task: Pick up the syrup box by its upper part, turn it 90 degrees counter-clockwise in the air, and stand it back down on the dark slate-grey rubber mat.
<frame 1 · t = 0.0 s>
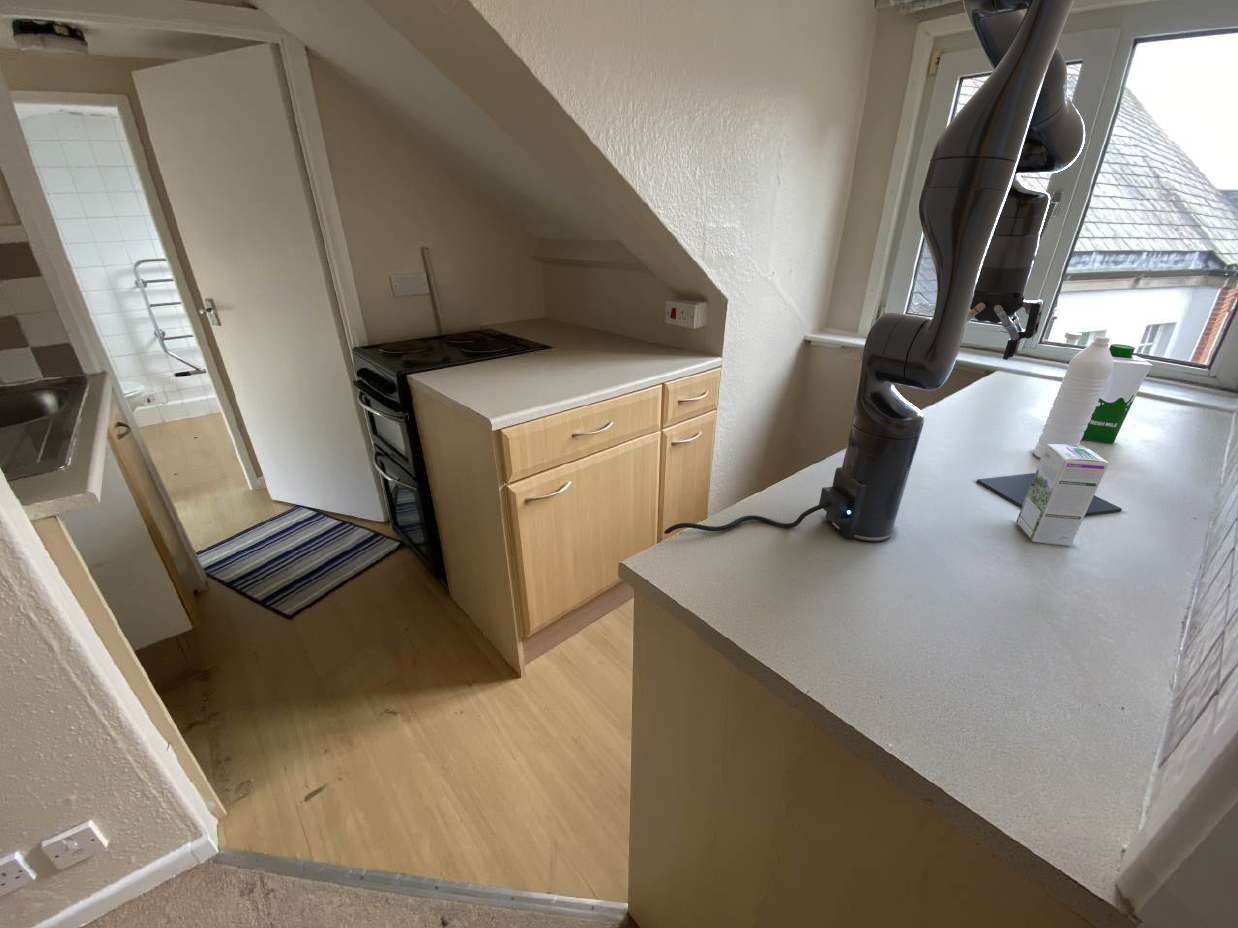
hand: (980, 353, 97), 22 cm above the counter, tool pointing down, fingers open, 8 cm apart
mat: (1045, 496, 95), on the counter
milk carton: (1088, 436, 121), on the counter
syrup box: (1041, 535, 84), on the counter
water bottle: (1045, 456, 110), on the counter
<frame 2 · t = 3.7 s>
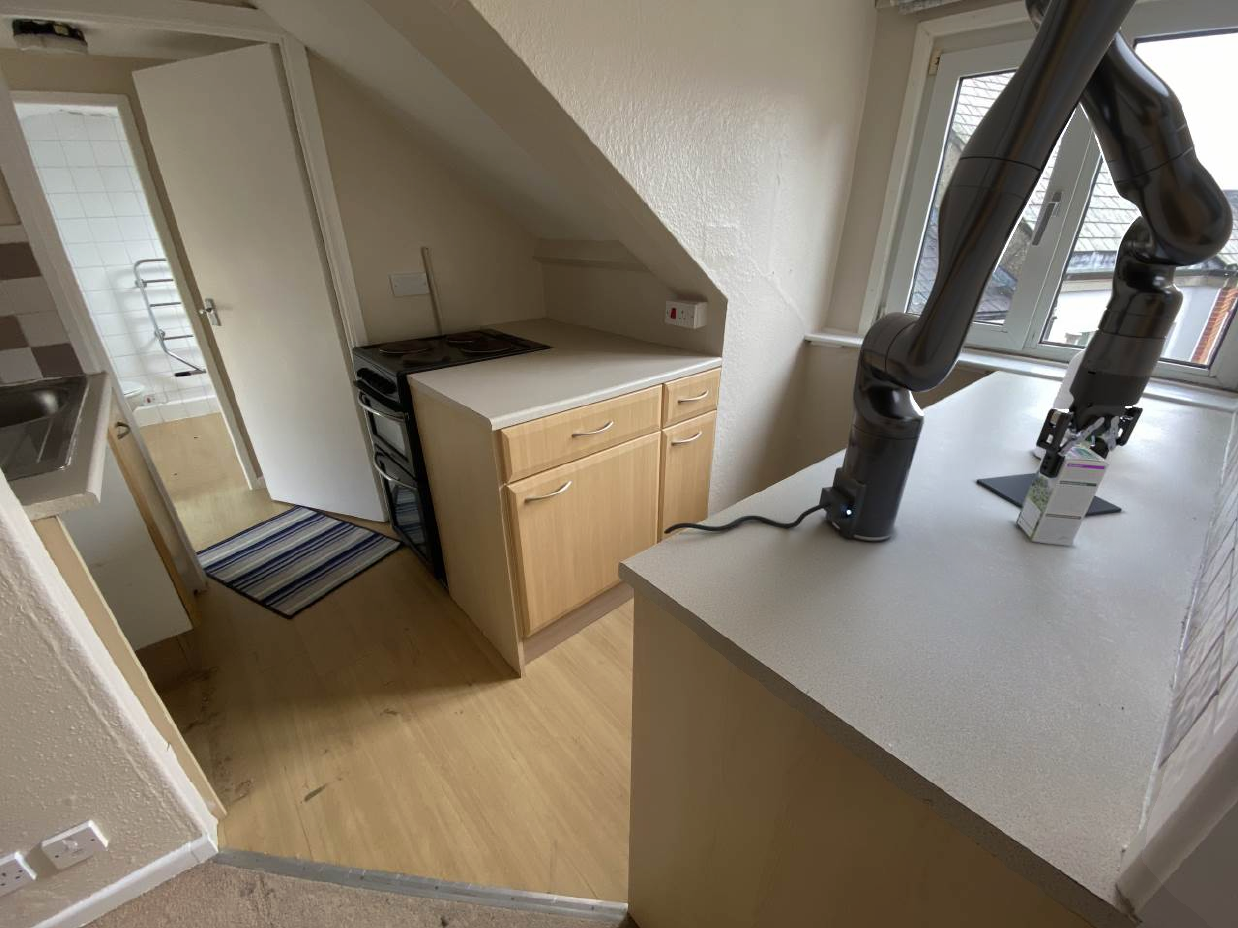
hand: (1068, 473, 79), 11 cm above the counter, tool pointing down, fingers closed on syrup box, 7 cm apart
syrup box: (1041, 535, 84), on the counter, touching gripper
everything else where it was.
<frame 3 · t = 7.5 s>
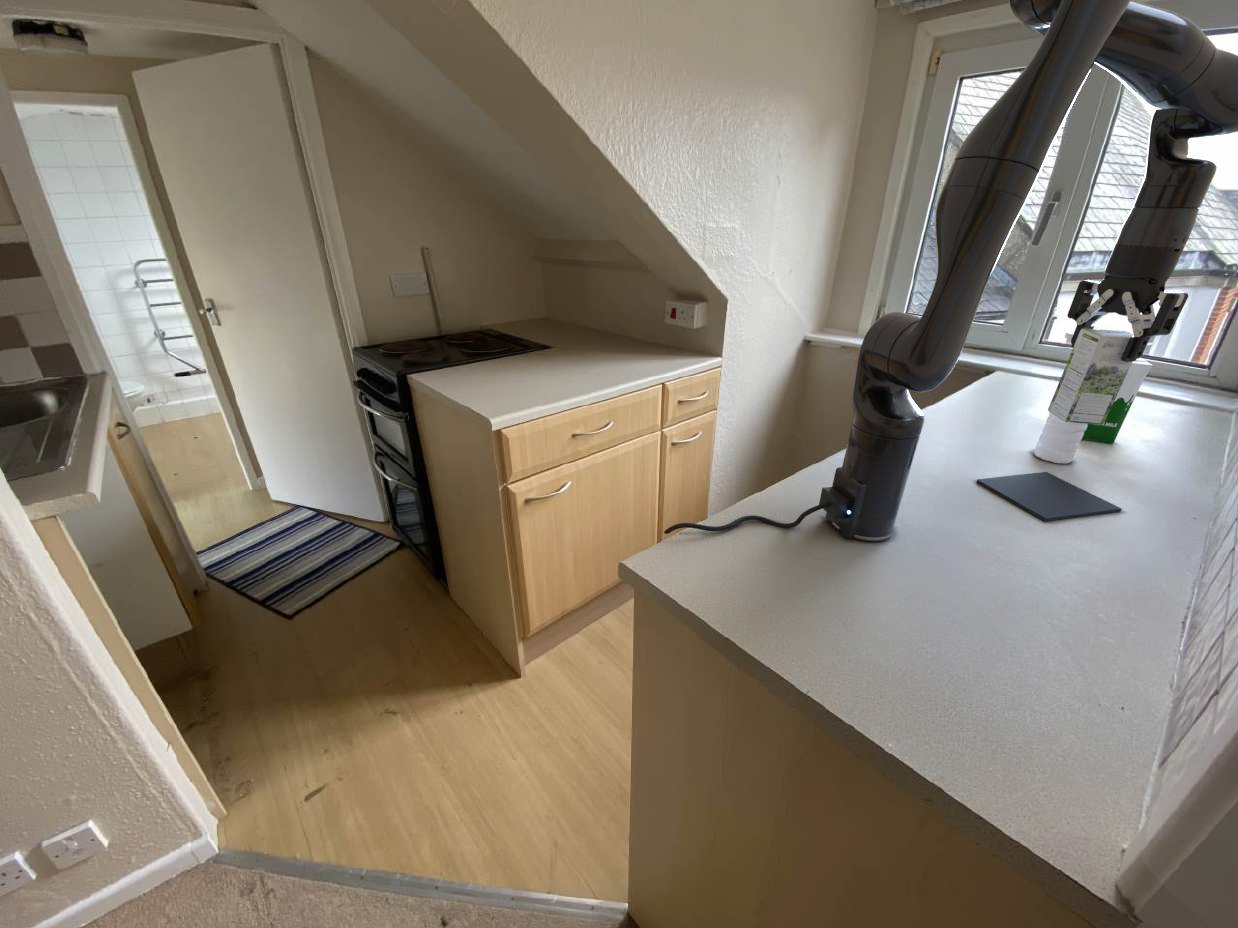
hand: (1102, 354, 84), 26 cm above the counter, tool pointing down, fingers closed on syrup box, 7 cm apart
syrup box: (1074, 419, 89), point 15 cm above the counter, touching gripper
everything else where it was.
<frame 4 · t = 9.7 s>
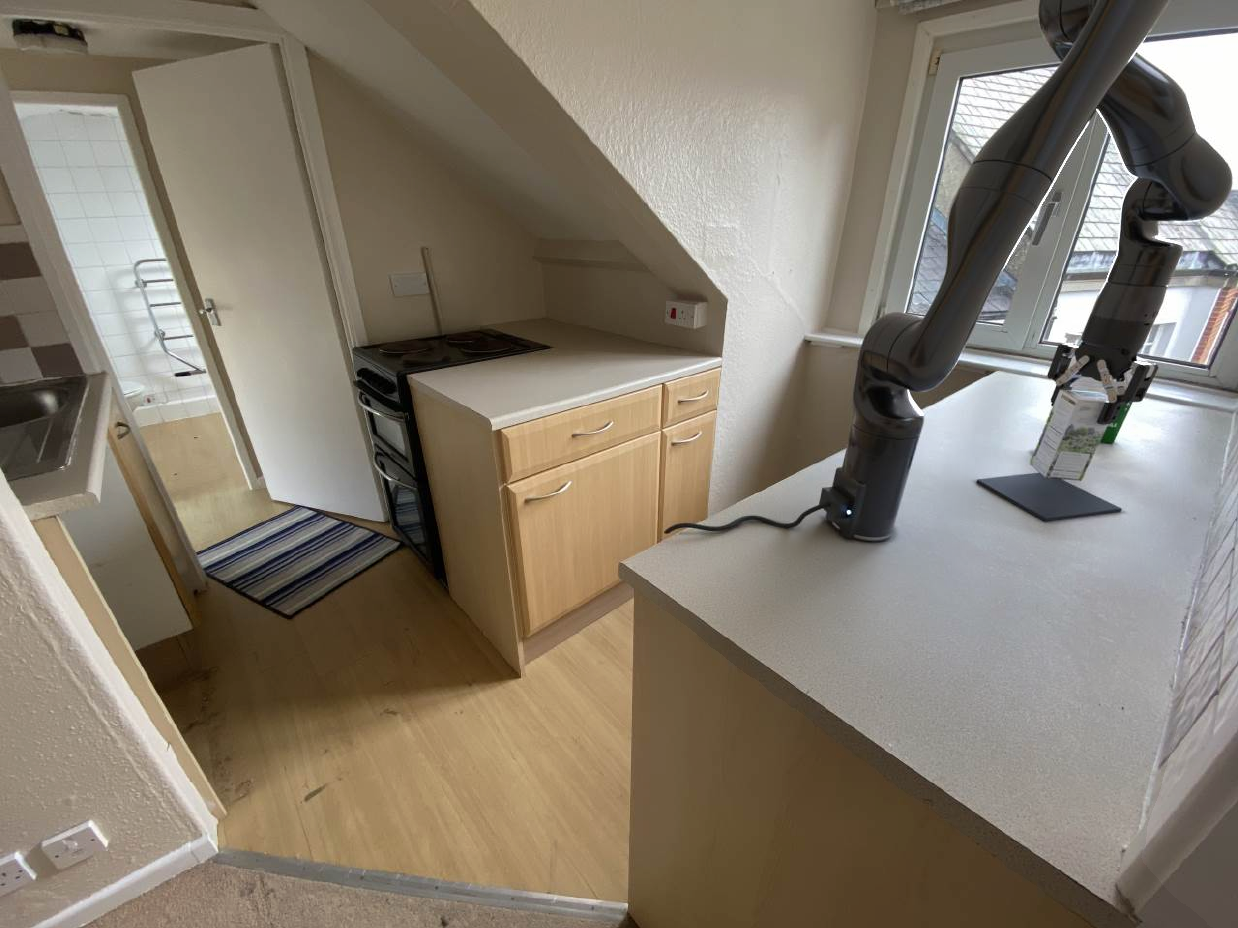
hand: (1079, 414, 88), 16 cm above the counter, tool pointing down, fingers closed on syrup box, 7 cm apart
syrup box: (1054, 474, 93), point 4 cm above the counter, touching gripper
everything else where it was.
when the fingers open (12 cm above the counter, at t = 11.5 s): syrup box stays where it is, resting on mat.
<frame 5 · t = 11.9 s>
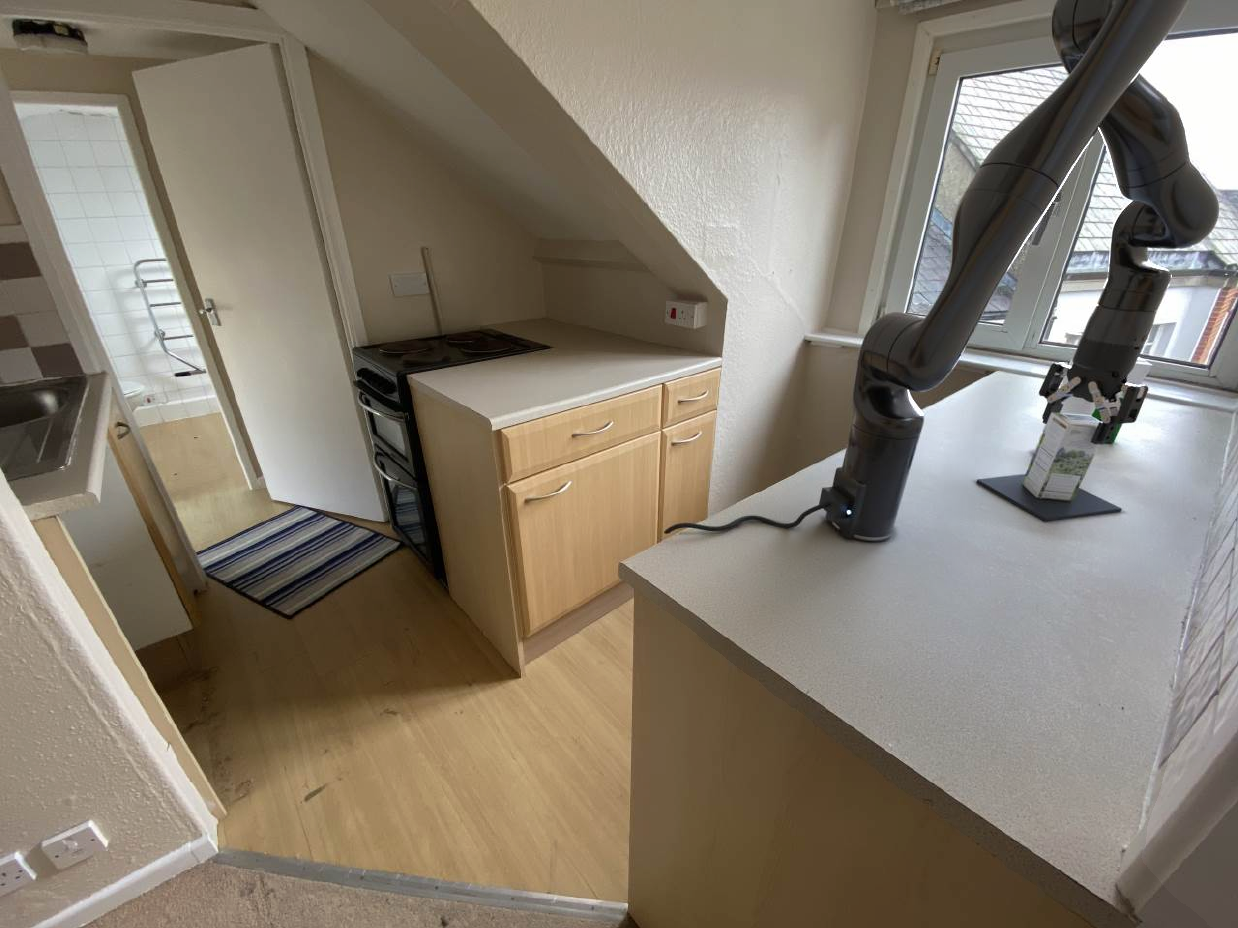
hand: (1072, 433, 89), 12 cm above the counter, tool pointing down, fingers open, 8 cm apart
syrup box: (1045, 494, 95), resting on mat
everything else where it was.
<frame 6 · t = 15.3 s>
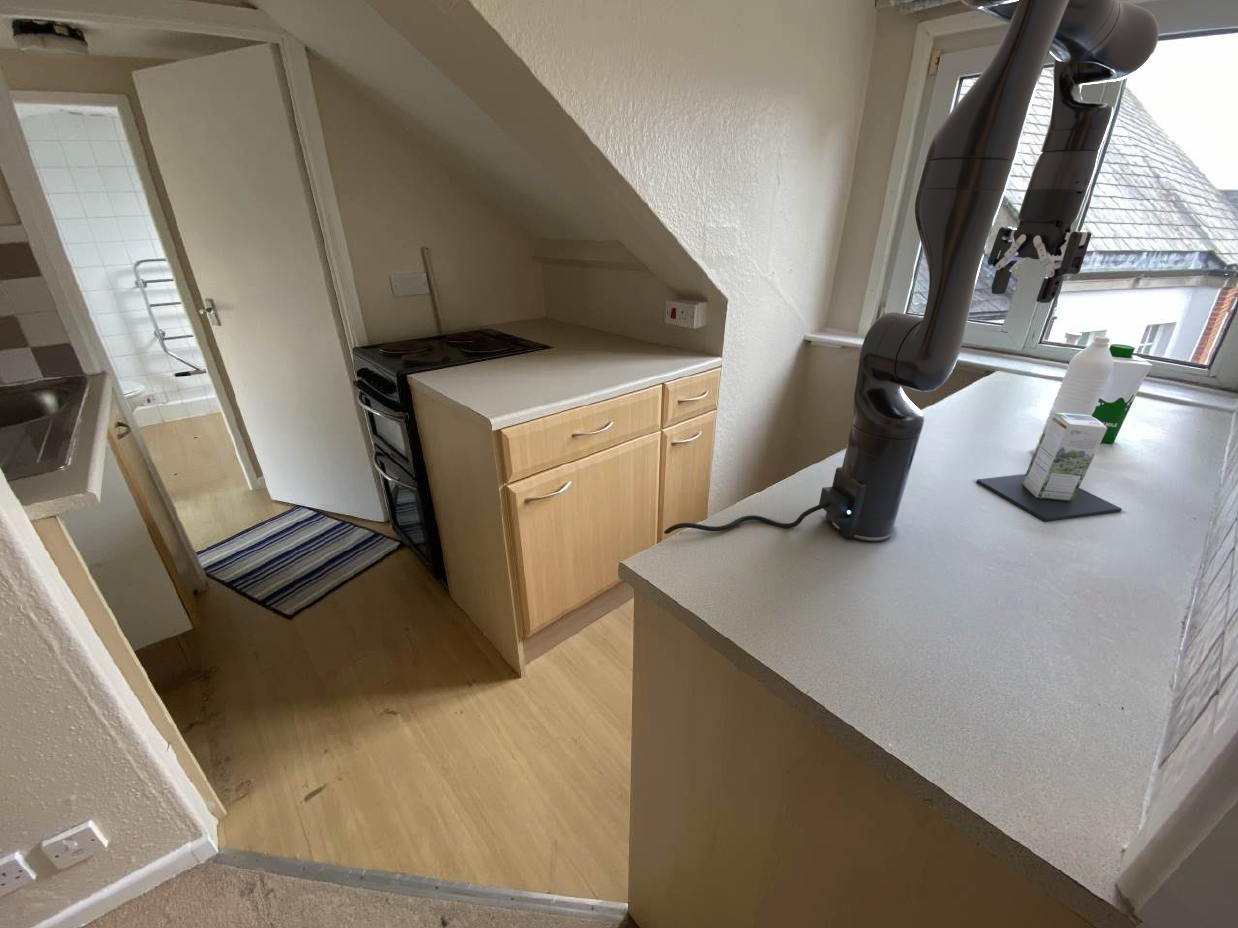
hand: (1019, 298, 87), 33 cm above the counter, tool pointing down, fingers open, 8 cm apart
nothing on the counter moved.
at the end: syrup box inside the target area (0.0 cm from its centre), resting on mat; syrup box tilted 0°; the gripper is holding nothing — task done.
